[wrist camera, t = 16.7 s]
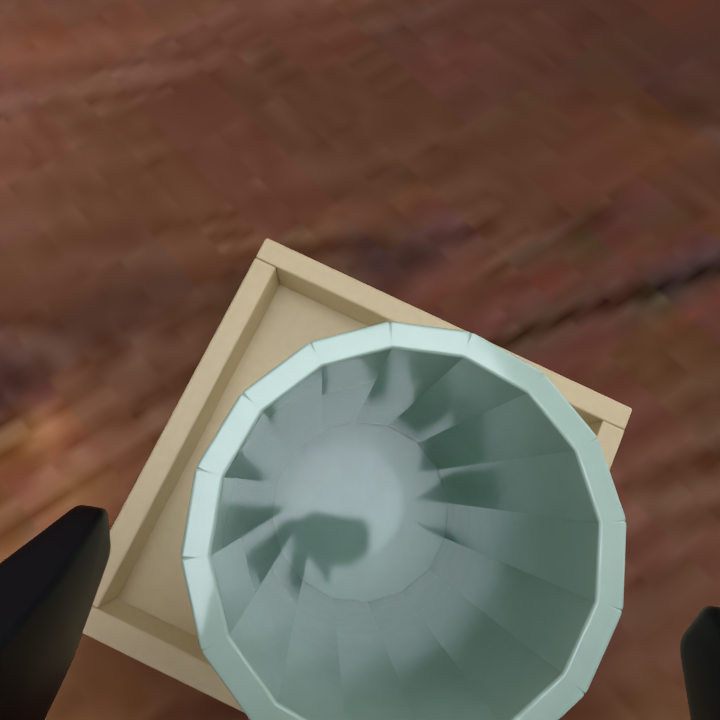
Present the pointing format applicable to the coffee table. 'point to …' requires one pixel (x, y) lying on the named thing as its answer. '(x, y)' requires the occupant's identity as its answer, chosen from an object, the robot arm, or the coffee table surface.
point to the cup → (404, 536)
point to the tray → (202, 421)
